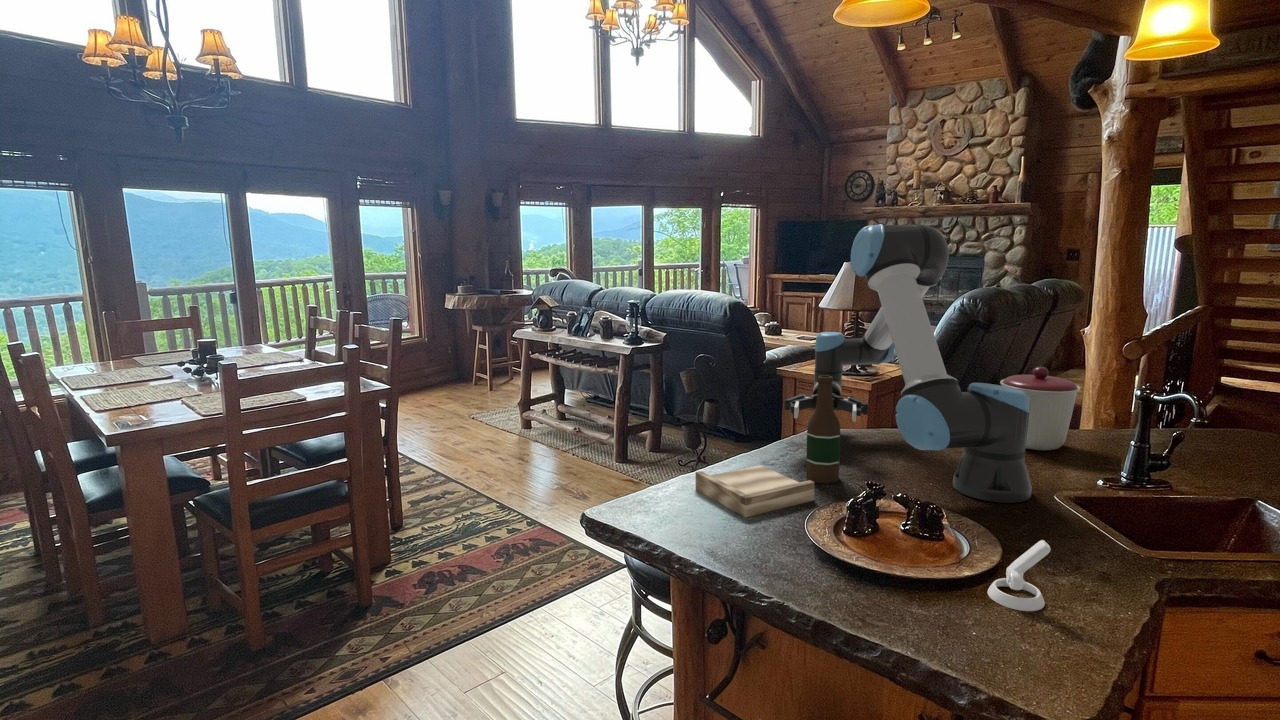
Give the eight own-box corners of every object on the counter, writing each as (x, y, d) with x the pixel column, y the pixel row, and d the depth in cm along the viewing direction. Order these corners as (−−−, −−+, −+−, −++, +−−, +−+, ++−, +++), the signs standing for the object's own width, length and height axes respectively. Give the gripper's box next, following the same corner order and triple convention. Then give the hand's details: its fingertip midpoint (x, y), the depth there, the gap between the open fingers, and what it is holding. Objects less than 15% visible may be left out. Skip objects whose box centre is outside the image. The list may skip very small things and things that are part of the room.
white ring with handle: (1092, 588, 95) (1051, 561, 95) (1027, 635, 101) (989, 609, 101) (1074, 555, 102) (1036, 529, 102) (1015, 600, 108) (979, 576, 108)
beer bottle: (800, 473, 159) (802, 373, 155) (832, 472, 160) (835, 372, 156) (811, 485, 151) (814, 379, 147) (845, 483, 152) (848, 378, 148)
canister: (981, 442, 181) (987, 365, 178) (1017, 432, 191) (1024, 358, 187) (1052, 460, 166) (1060, 376, 163) (1087, 447, 176) (1096, 368, 173)
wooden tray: (813, 500, 143) (814, 482, 142) (745, 517, 134) (745, 498, 133) (759, 475, 158) (760, 458, 157) (695, 489, 150) (695, 472, 149)
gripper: (875, 411, 179) (879, 433, 159) (779, 406, 186) (771, 426, 166) (876, 383, 178) (880, 402, 158) (780, 379, 185) (772, 396, 165)
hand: (824, 414), depth 162 cm, fingers open, 13 cm apart
